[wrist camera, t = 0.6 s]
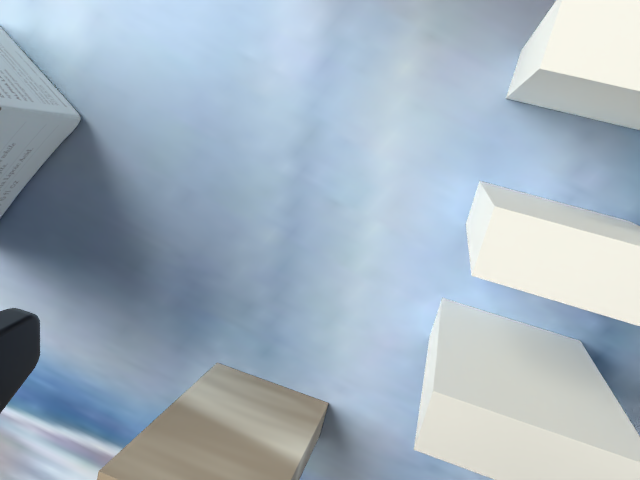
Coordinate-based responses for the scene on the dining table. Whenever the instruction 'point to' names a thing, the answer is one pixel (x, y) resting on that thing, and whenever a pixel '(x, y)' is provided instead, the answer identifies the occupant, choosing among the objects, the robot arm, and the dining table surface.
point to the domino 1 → (225, 433)
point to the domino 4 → (519, 403)
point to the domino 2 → (584, 61)
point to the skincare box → (27, 120)
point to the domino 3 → (555, 251)
